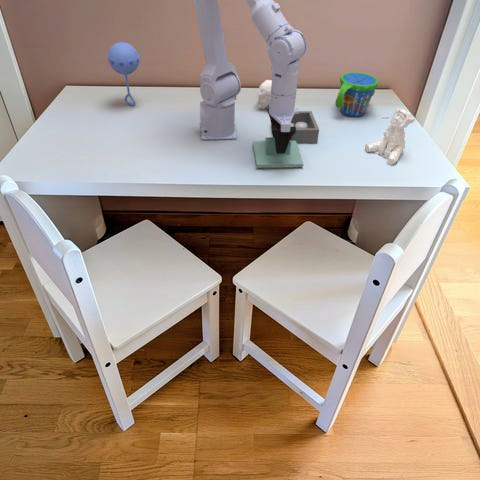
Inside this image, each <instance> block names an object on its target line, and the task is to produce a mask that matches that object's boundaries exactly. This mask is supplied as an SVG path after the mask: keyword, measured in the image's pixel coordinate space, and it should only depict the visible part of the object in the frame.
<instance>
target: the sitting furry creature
mask: <svg viewBox="0 0 480 480" xmlns="http://www.w3.org/2000/svg"><path fill="white" fill-rule="evenodd" d="M415 121H416V118H412V114H411V112H409V111H407V110H406V109H403V108H399V107H397V109H396V111H394V112H393V114H392V115H391V120H390V124H391V125H389V126H388V127H387V129H385V131H384V132H383V136H384V137H383V139H382V140H377V141H372V142H369V143H366V144H365V145H364V150H365V152H366V153H374V154H377V155H379V156H381V157H383V158H384V159H385V160H387V164H388V165H390V166H392V165H395V164H396V163H397V161H398V160H399V159H400V157H401V155H402V153H403V152H404V149H405V148H406V145H405V144H406V140H405V135H406V131H405V129H404V128H408V126H409V125H411V124H413V123H414V122H415Z"/></svg>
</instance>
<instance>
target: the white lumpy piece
mask: <svg viewBox="0 0 480 480" xmlns="http://www.w3.org/2000/svg"><path fill="white" fill-rule="evenodd" d="M271 84H272V79H266V80H264V81H263V82H262V83H261V84H260V85H259V87H258V92H257V95H258V100H257V102H258V103H259V104H258V107H257V108H258V109H260V110H264V109H266V108H267V107H268V108H269V107H270V98H271Z"/></svg>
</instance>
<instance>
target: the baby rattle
mask: <svg viewBox="0 0 480 480" xmlns="http://www.w3.org/2000/svg"><path fill="white" fill-rule="evenodd" d="M107 61H108V64H109V65H110V67H111V68H112V69H113V70H114V72H116V73H118V74H120V75H123V76H124V78H125V84H126V90H127V93H126V95H125V97H124V102H125V104H126V105H130V106H131V107H135V106H136V100H135V98H134V97H133V96H132V94H131V93H130V86H129V78H128V75H131V74H132V73H134V72H135V71H136V70H137V69H138V67H139V64H140V54H139V53H138V52H137V49H136V48H135V47H134V46H133V45H132V44H130V43H128V42H123V41H120V42H115V44H112V45H111V47H110V49H109V50H108V54H107ZM128 98H130V99H131V101H132V102H131V101H128V100H127V99H128Z"/></svg>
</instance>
